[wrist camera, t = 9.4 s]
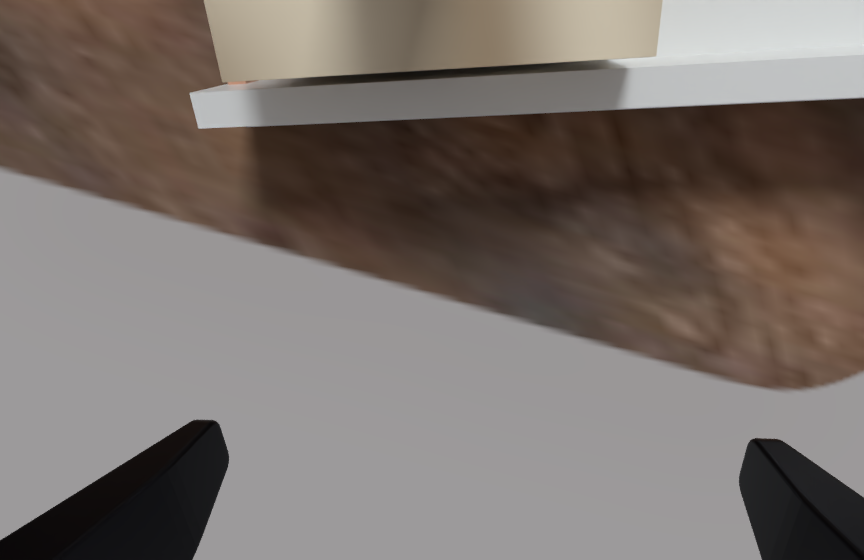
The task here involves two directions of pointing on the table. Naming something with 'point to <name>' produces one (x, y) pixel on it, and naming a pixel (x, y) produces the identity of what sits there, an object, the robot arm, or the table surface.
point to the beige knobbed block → (422, 34)
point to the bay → (592, 73)
